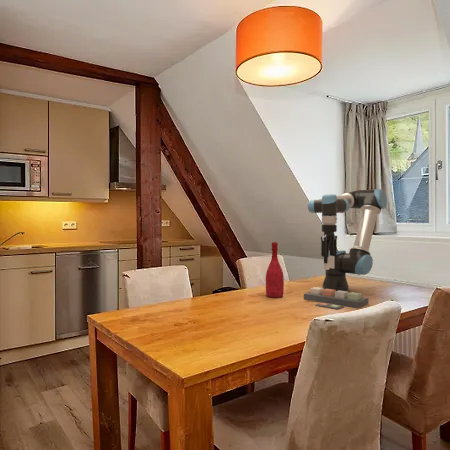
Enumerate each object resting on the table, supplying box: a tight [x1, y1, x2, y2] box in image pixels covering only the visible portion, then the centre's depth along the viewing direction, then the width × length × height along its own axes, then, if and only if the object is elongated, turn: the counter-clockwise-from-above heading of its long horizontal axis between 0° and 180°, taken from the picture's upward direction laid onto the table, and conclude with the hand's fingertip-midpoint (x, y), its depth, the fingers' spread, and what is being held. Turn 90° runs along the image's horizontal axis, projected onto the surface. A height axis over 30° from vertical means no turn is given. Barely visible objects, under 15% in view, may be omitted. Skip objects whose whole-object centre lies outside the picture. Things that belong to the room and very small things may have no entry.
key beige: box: [335, 290, 349, 299], centre depth 201 cm, size 5×5×3 cm
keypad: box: [303, 291, 369, 309], centre depth 203 cm, size 30×12×3 cm, turn 47°
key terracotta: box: [322, 289, 336, 297], centre depth 206 cm, size 5×5×3 cm
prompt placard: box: [315, 302, 345, 310], centre depth 192 cm, size 12×6×1 cm, turn 47°
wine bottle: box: [265, 241, 285, 299], centre depth 216 cm, size 10×10×30 cm
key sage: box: [348, 291, 363, 301], centre depth 196 cm, size 5×5×3 cm
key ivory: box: [310, 286, 324, 295], centre depth 210 cm, size 5×5×3 cm
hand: (329, 268), depth 205 cm, fingers open, 5 cm apart
